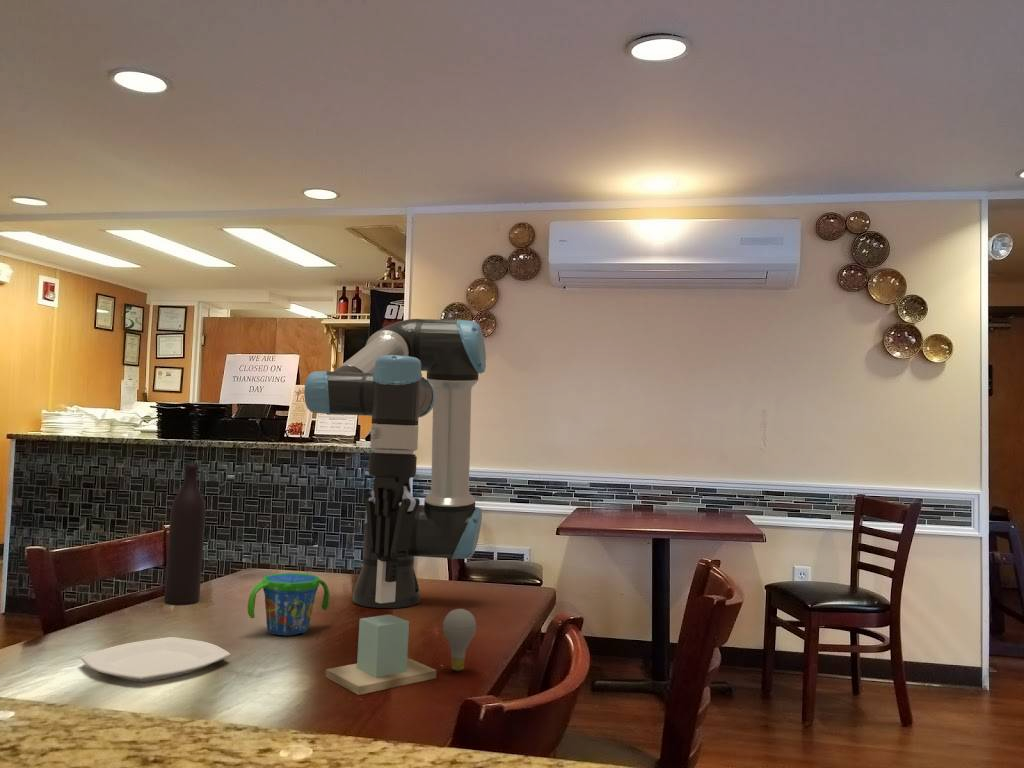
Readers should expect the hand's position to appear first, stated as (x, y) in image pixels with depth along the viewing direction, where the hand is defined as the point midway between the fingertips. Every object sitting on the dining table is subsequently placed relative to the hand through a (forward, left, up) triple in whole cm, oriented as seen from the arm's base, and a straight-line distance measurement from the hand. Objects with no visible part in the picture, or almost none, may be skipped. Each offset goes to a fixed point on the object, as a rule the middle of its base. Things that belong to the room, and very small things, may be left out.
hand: (385, 601), depth 120 cm
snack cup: (0, -33, -12) cm, 35 cm away
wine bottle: (+8, -68, -12) cm, 70 cm away
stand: (0, 0, -12) cm, 12 cm away
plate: (+26, -25, -12) cm, 38 cm away
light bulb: (-12, +4, -12) cm, 17 cm away
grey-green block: (0, 0, -11) cm, 11 cm away
